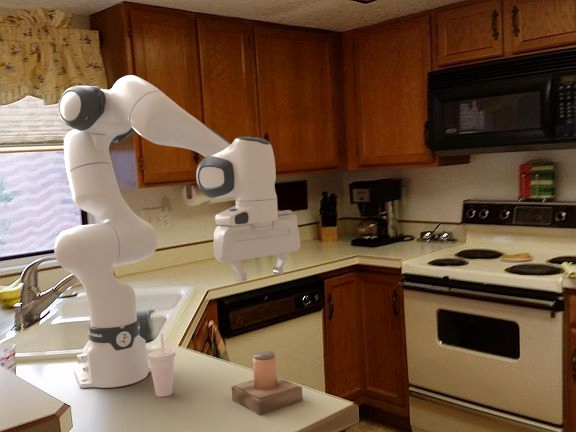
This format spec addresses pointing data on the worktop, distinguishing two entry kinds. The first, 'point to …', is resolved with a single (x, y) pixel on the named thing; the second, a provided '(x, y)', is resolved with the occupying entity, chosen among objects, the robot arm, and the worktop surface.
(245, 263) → the worktop surface
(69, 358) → the worktop surface
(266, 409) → the plinth
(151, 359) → the smoothie
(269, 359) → the jar
